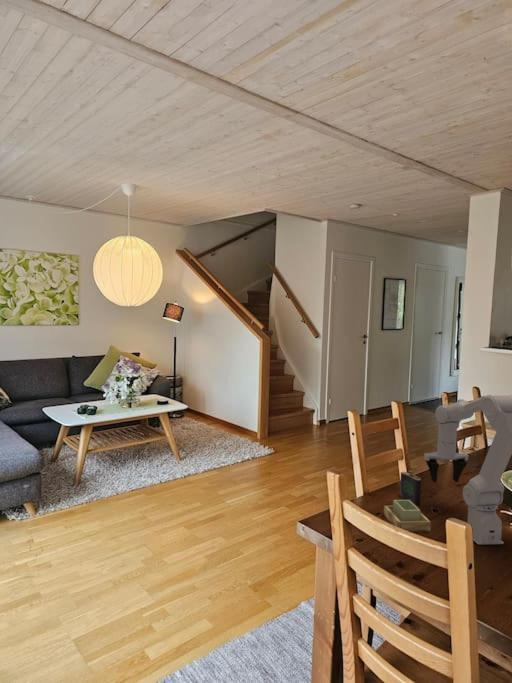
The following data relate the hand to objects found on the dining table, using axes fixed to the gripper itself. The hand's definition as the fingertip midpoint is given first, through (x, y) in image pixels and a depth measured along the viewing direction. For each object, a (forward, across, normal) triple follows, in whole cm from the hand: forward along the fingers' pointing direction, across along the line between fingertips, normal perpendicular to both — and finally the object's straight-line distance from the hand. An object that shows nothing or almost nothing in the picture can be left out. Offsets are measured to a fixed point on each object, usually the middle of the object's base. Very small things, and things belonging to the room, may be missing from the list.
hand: (444, 480), depth 153 cm
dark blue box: (+10, +8, -8) cm, 15 cm away
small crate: (+9, +17, +9) cm, 21 cm away
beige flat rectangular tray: (+10, +17, +9) cm, 22 cm away
